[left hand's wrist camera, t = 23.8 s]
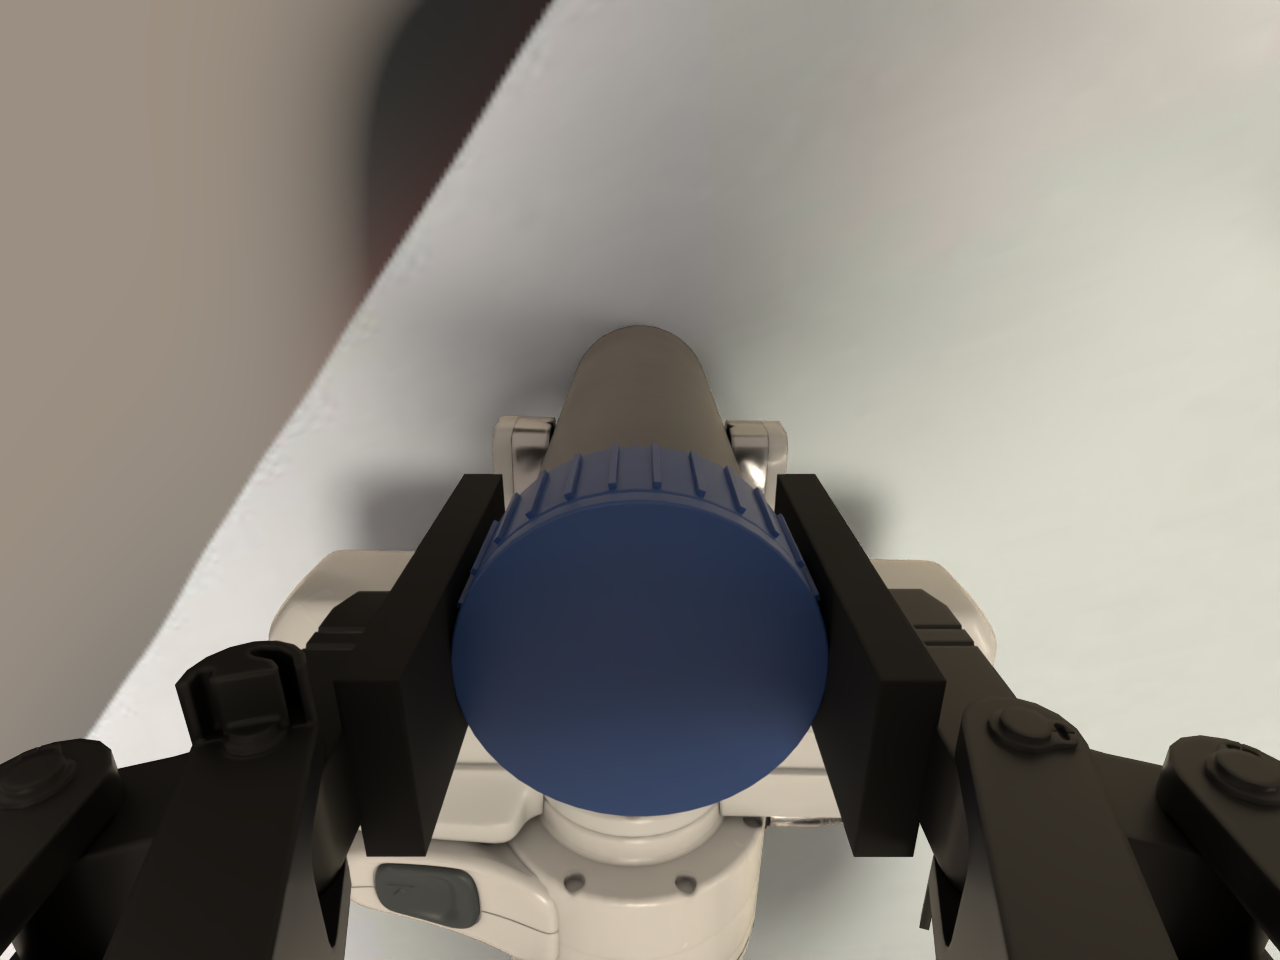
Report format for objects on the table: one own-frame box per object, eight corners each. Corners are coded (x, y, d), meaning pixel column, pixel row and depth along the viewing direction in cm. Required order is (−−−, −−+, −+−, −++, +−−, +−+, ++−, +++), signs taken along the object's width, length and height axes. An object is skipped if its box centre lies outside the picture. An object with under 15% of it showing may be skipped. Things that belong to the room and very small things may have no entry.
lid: (792, 720, 13) (820, 817, 11) (495, 725, 13) (467, 824, 11) (811, 436, 11) (850, 491, 9) (460, 445, 11) (419, 501, 9)
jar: (683, 306, 24) (745, 459, 10) (722, 432, 26) (822, 716, 12) (553, 350, 25) (438, 555, 11) (600, 471, 26) (553, 788, 12)
